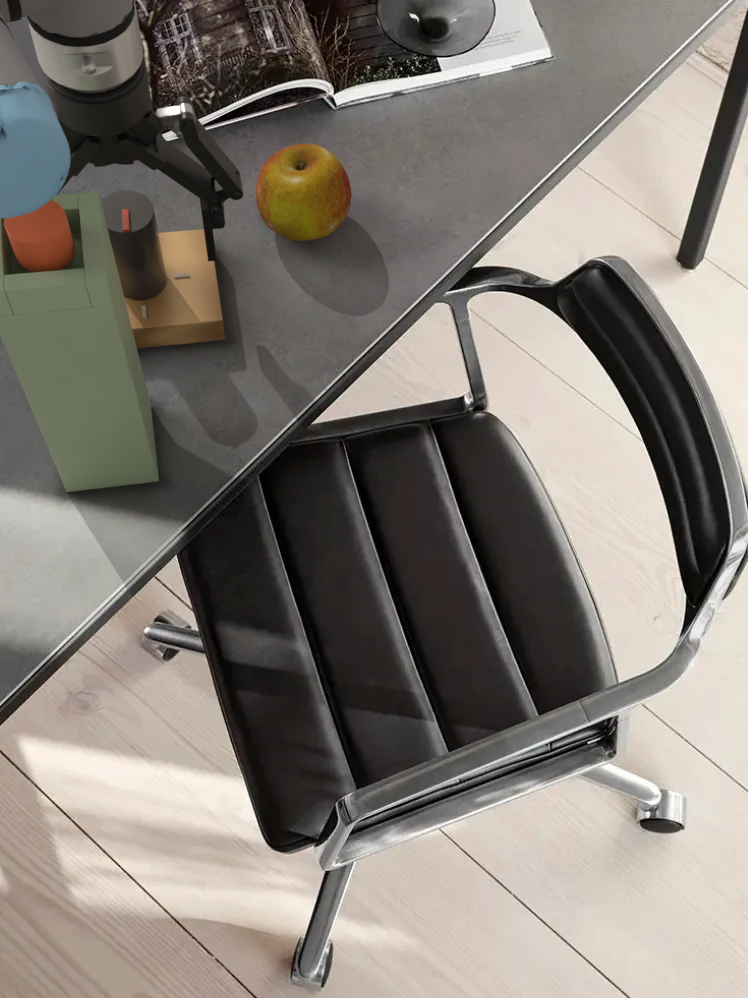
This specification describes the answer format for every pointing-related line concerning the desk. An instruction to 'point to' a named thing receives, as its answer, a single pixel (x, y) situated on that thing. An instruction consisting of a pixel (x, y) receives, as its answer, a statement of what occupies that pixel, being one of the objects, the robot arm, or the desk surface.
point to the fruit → (303, 192)
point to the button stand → (80, 356)
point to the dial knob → (135, 243)
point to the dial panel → (180, 296)
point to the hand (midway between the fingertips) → (135, 256)
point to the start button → (41, 238)
